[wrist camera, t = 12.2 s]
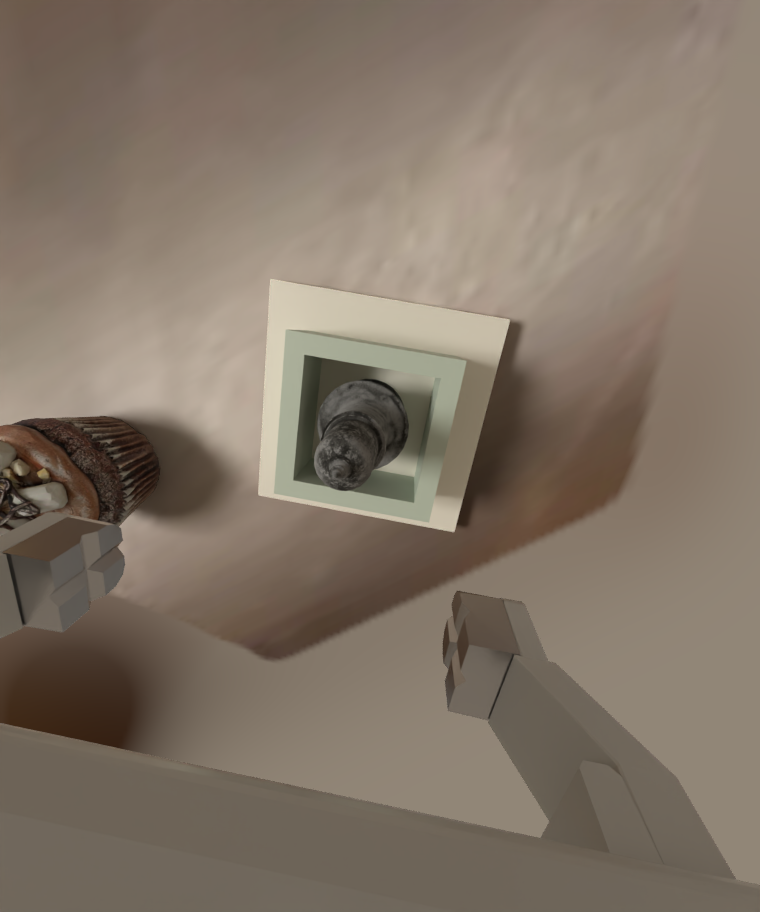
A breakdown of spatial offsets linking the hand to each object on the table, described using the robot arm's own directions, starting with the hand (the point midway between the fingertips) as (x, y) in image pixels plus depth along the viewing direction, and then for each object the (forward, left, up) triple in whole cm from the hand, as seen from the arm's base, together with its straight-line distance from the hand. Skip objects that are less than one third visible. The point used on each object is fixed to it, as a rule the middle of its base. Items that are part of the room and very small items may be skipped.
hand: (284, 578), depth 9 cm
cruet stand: (0, 0, -20) cm, 20 cm away
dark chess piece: (0, 0, -19) cm, 19 cm away
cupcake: (+8, -21, -20) cm, 30 cm away
